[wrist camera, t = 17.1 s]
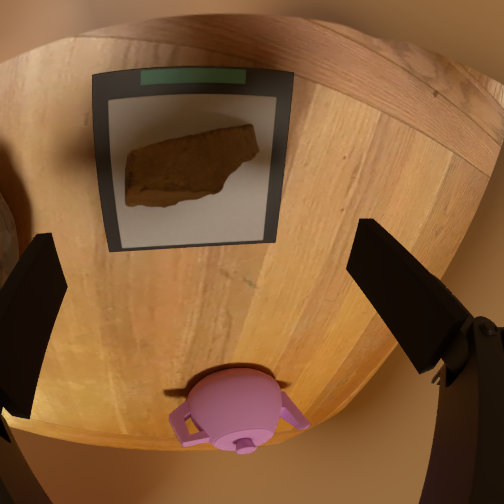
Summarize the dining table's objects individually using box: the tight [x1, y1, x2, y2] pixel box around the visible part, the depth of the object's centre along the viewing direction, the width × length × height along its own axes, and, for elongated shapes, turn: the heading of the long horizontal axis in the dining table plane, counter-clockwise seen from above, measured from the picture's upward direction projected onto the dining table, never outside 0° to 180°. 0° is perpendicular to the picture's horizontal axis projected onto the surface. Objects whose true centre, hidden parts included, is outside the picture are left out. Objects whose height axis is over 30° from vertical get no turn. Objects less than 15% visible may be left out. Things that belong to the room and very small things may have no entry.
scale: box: [92, 66, 294, 252], centre depth 24 cm, size 16×16×4 cm
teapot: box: [169, 368, 311, 454], centre depth 42 cm, size 22×16×12 cm
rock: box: [125, 124, 259, 208], centre depth 20 cm, size 11×9×10 cm
